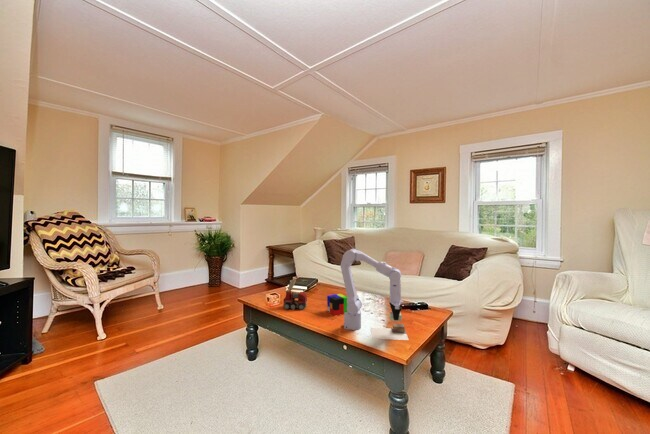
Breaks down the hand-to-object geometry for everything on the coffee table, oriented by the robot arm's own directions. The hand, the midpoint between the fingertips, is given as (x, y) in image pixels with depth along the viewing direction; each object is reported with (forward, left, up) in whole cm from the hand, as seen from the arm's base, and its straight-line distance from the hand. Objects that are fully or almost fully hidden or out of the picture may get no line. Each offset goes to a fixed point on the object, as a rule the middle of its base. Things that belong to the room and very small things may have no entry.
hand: (395, 318), depth 143 cm
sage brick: (0, 0, -1) cm, 1 cm away
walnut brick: (+2, +3, -8) cm, 9 cm away
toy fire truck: (-62, +38, -9) cm, 73 cm away
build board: (-4, -1, -9) cm, 10 cm away
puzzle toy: (-33, +31, -9) cm, 46 cm away
